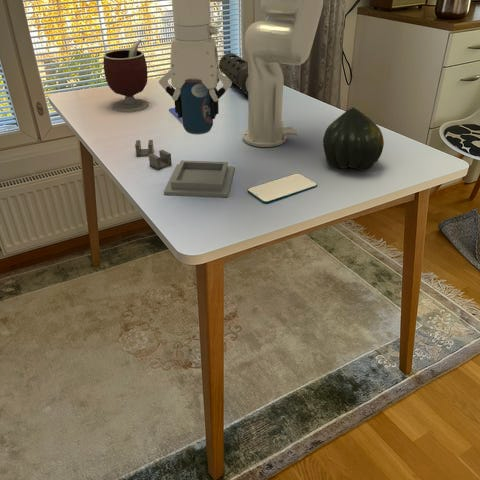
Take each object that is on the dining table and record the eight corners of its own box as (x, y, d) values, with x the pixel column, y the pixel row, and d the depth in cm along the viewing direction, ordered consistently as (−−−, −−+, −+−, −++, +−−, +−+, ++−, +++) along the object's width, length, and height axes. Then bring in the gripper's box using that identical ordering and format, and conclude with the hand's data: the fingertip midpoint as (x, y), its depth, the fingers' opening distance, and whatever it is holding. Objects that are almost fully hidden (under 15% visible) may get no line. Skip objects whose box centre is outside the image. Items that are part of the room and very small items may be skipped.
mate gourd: (132, 115, 157) (123, 51, 146) (101, 108, 163) (90, 46, 152) (162, 102, 168) (156, 41, 157) (132, 96, 174) (124, 37, 163)
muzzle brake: (241, 78, 193) (241, 51, 187) (269, 98, 171) (270, 68, 166) (218, 80, 190) (217, 53, 184) (244, 102, 169) (244, 71, 163)
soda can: (212, 135, 108) (210, 81, 101) (181, 135, 108) (177, 81, 101) (213, 124, 114) (211, 72, 107) (184, 124, 114) (180, 72, 107)
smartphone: (297, 176, 122) (245, 192, 114) (298, 172, 121) (245, 188, 114) (318, 188, 116) (265, 206, 109) (319, 184, 116) (265, 202, 108)
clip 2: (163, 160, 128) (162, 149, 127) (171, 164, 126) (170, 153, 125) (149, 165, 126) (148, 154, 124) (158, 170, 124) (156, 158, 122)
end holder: (234, 169, 124) (234, 159, 123) (227, 197, 112) (227, 187, 110) (177, 166, 125) (176, 157, 124) (164, 194, 113) (163, 184, 112)
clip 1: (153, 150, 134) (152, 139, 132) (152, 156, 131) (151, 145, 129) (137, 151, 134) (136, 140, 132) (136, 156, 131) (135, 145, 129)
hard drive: (205, 116, 154) (191, 104, 163) (180, 120, 151) (168, 108, 160) (205, 121, 154) (191, 109, 164) (181, 125, 152) (168, 113, 161)
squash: (365, 165, 113) (385, 106, 114) (307, 154, 120) (327, 98, 121) (376, 184, 125) (394, 130, 126) (323, 172, 132) (341, 122, 133)
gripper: (236, 29, 102) (237, 112, 112) (155, 28, 103) (163, 109, 113) (232, 37, 95) (233, 123, 105) (146, 35, 97) (155, 121, 107)
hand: (197, 115), depth 109 cm, fingers closed on soda can, 6 cm apart
